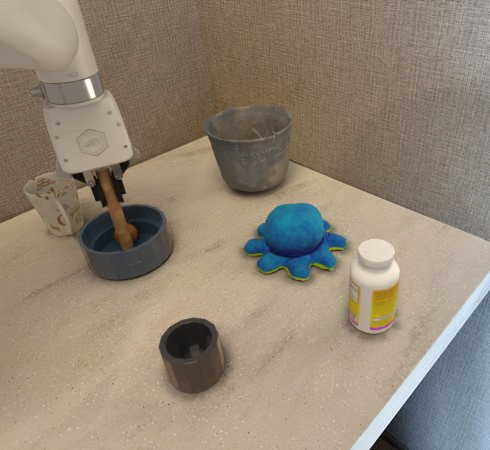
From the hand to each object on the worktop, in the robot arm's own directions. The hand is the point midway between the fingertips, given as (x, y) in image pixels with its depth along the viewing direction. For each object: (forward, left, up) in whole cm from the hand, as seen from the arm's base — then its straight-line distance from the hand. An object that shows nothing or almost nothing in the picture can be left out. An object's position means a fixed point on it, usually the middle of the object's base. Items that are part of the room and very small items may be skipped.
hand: (112, 200), depth 71 cm
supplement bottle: (+28, -33, -12) cm, 45 cm away
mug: (-9, +13, -12) cm, 20 cm away
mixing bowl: (0, 0, -12) cm, 12 cm away
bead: (0, +3, -9) cm, 9 cm away
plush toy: (+26, -13, -12) cm, 31 cm away
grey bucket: (+28, +10, -12) cm, 32 cm away
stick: (0, -2, -8) cm, 9 cm away
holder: (+3, -29, -12) cm, 31 cm away
